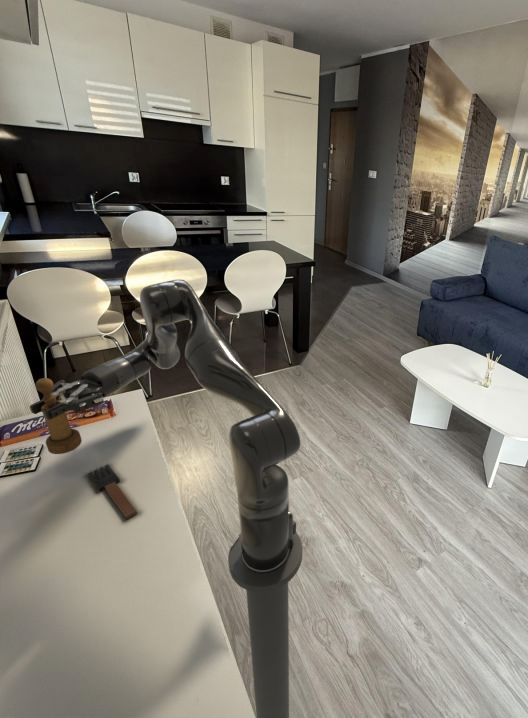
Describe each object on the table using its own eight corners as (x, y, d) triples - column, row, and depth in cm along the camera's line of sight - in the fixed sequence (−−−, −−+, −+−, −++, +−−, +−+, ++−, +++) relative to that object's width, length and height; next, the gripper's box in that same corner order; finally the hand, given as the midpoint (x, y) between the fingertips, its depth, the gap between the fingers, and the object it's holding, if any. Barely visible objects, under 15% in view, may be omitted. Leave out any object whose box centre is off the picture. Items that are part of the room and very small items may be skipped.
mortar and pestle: (81, 449, 92) (60, 383, 84) (47, 458, 89) (21, 390, 81) (81, 432, 97) (61, 369, 89) (49, 440, 94) (24, 375, 85)
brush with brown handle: (142, 510, 87) (142, 507, 86) (121, 522, 84) (120, 519, 83) (108, 466, 98) (107, 464, 97) (88, 475, 94) (87, 473, 94)
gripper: (85, 357, 100) (11, 390, 86) (128, 371, 96) (57, 407, 82) (92, 383, 104) (22, 418, 89) (133, 396, 100) (66, 436, 85)
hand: (39, 413), depth 86 cm, fingers closed on mortar and pestle, 4 cm apart
